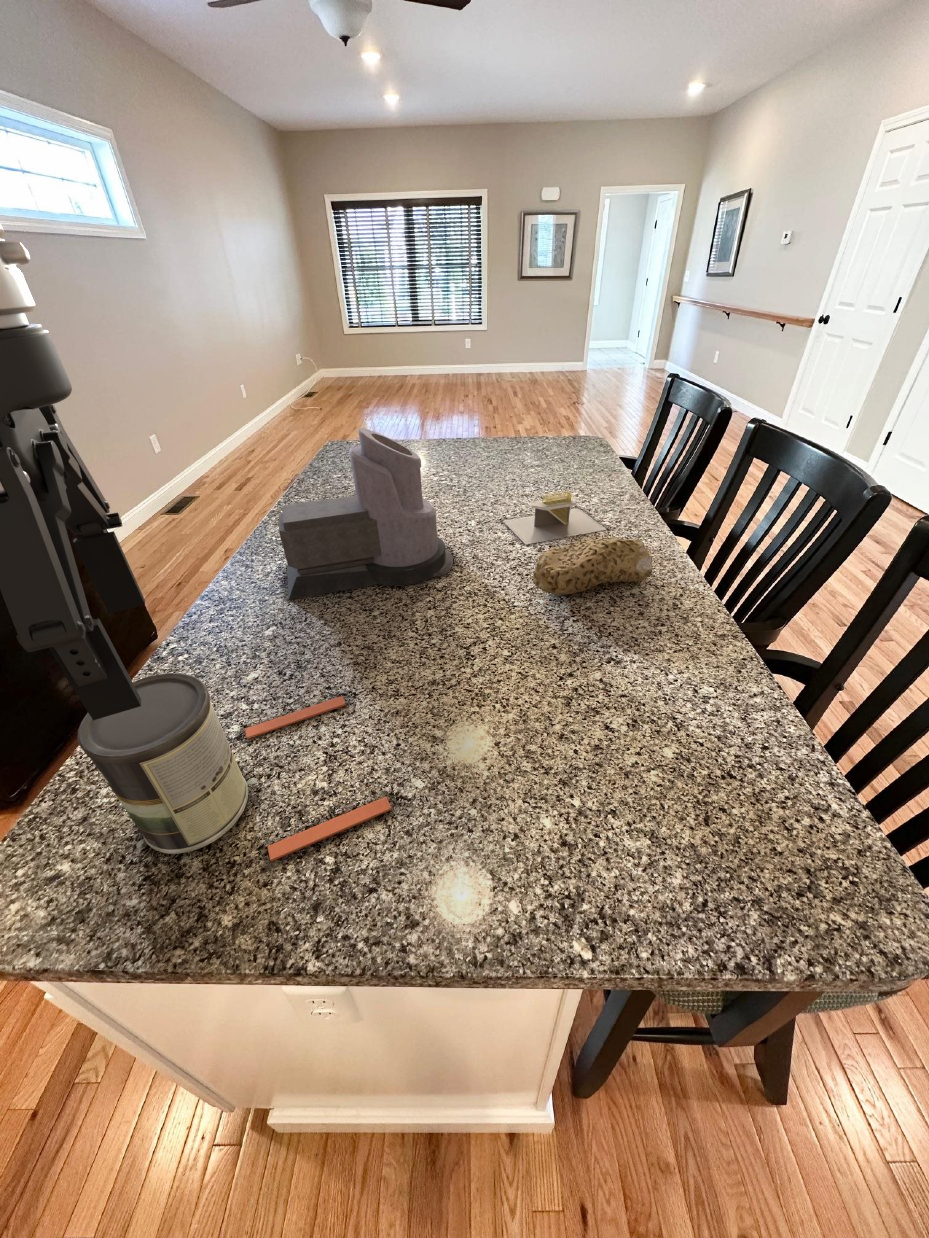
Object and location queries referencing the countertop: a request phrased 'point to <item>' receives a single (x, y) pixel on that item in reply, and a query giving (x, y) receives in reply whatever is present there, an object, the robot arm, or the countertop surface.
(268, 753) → the countertop surface
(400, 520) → the machine
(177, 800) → the coffee can
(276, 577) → the countertop surface
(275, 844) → the strips
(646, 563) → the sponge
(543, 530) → the platform
